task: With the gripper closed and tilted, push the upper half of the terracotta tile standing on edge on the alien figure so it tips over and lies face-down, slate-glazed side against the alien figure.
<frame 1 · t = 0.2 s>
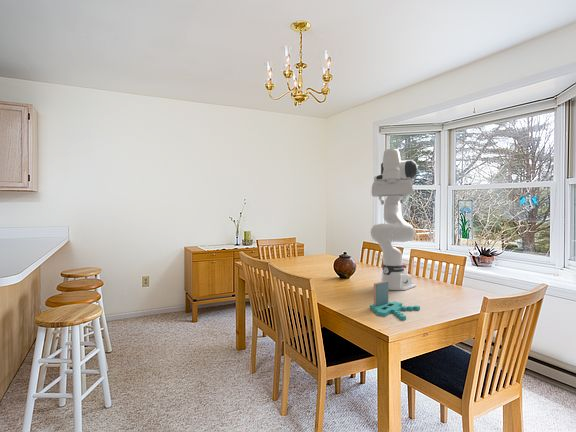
hand: (392, 203, 180), 52 cm above the table, tool tilted 20°, fingers open, 8 cm apart
tile: (381, 304, 179), point 2 cm above the table
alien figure: (392, 312, 173), on the table
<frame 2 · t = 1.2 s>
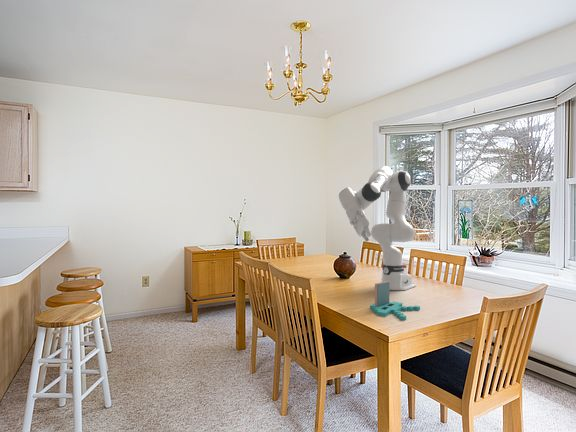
hand: (368, 238, 185), 34 cm above the table, tool tilted 30°, fingers open, 8 cm apart
tile: (382, 304, 178), point 2 cm above the table, touching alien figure
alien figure: (392, 312, 173), on the table, touching tile
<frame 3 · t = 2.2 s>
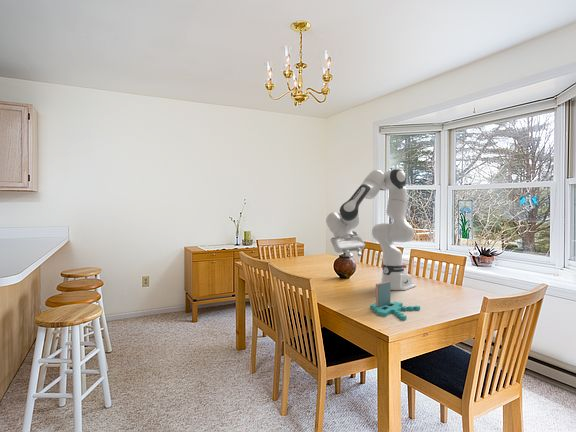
hand: (356, 256, 193), 23 cm above the table, tool tilted 45°, fingers open, 5 cm apart
tile: (383, 304, 178), point 2 cm above the table
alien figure: (392, 312, 173), on the table
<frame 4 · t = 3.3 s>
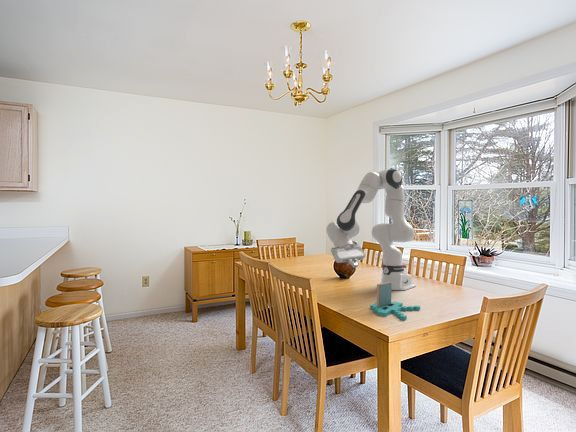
hand: (356, 266, 193), 18 cm above the table, tool tilted 45°, fingers closed
tile: (383, 305, 177), point 2 cm above the table, touching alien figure
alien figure: (392, 312, 173), on the table, touching tile
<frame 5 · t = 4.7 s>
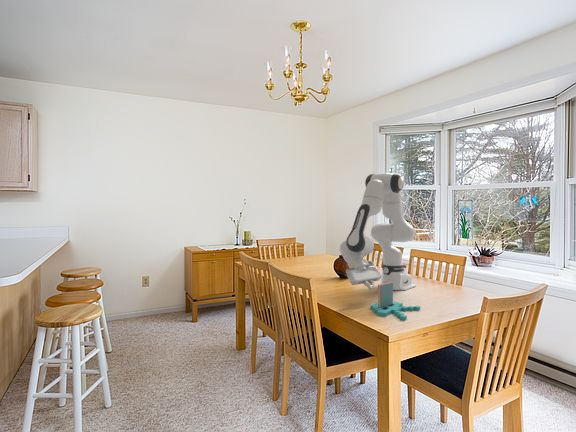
hand: (372, 288, 183), 8 cm above the table, tool tilted 45°, fingers closed
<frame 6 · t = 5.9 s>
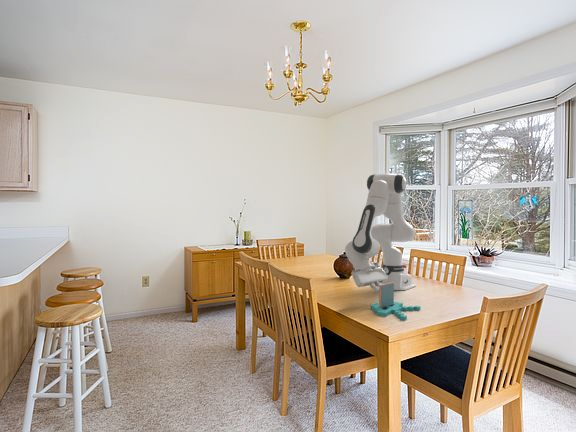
hand: (378, 290, 180), 8 cm above the table, tool tilted 45°, fingers closed
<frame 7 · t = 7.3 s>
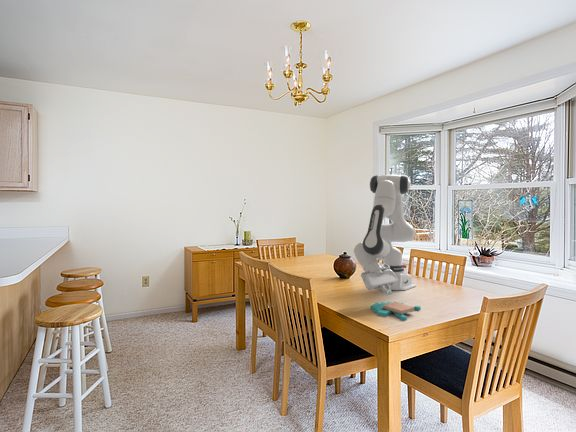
hand: (389, 293, 174), 8 cm above the table, tool tilted 45°, fingers closed
tile: (389, 305, 174), point 2 cm above the table, tilted 90°, touching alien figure
everything else where it was.
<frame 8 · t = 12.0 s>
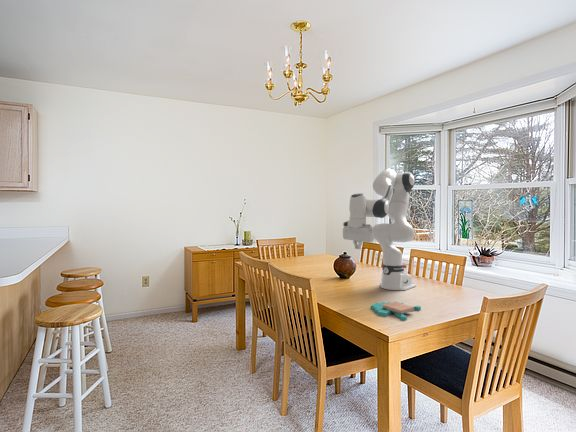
hand: (357, 249, 194), 27 cm above the table, tool pointing down, fingers closed
at the end: tile tilted 90°; tile inside the target area on the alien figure (2.5 cm from its centre), point 3.3 cm above the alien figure's base; tile touching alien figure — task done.
